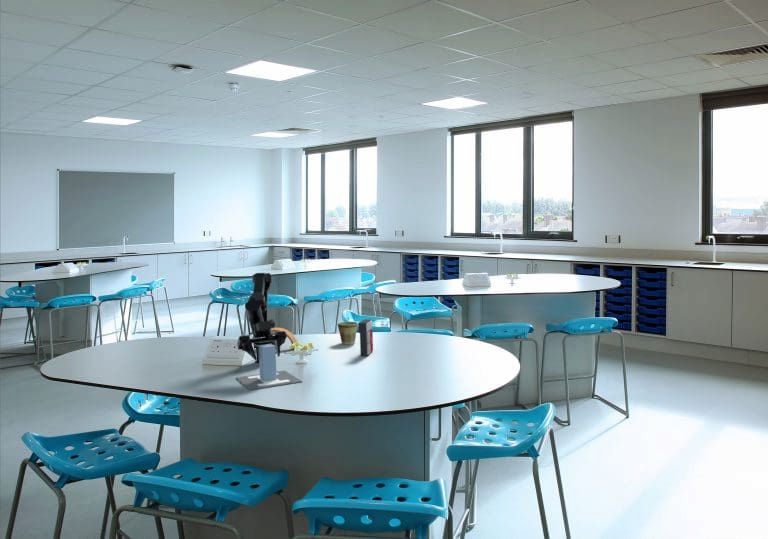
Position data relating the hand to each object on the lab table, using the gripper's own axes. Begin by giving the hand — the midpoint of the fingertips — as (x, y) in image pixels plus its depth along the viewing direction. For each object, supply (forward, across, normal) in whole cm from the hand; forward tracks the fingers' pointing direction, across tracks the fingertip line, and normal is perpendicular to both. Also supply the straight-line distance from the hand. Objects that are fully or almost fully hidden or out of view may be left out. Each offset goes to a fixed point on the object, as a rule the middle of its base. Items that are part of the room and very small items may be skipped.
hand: (267, 357), depth 230 cm
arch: (-33, +22, +46) cm, 61 cm away
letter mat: (+6, 0, +6) cm, 9 cm away
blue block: (+6, 0, +6) cm, 8 cm away
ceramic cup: (-27, +57, +41) cm, 75 cm away
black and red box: (-8, +53, +21) cm, 57 cm away
